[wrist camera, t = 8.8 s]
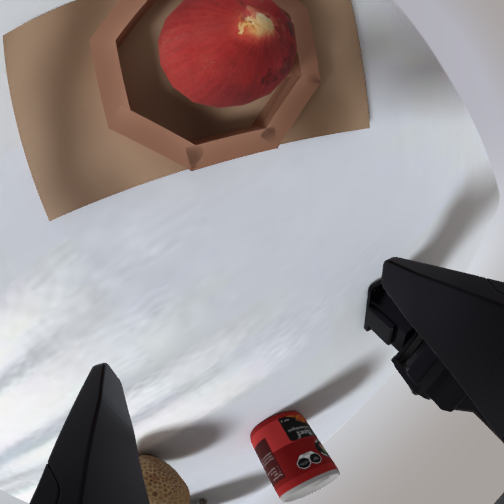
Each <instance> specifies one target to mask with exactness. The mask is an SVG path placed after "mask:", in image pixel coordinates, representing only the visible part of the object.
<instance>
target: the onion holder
mask: <svg viewBox="0 0 504 504" xmlns="http://www.w3.org/2000/svg"><path fill="white" fill-rule="evenodd" d="M182 1H183V0H76V1H73V2H71V3H68V4H66V5H63V6H61V7H58V8H56V9H54V10H52V11H49V12H47V13H45V14H43V15H41V16H39V17H37V18H35V19H33V20H31V21H29V22H27V23H25V24H23V25H21V26H19V27H17V28H16V29H14V30H12V31H10V32H9V33H7V34H5V35H3V44H4V55H5V63H6V71H7V77H8V84H9V89H10V95H11V100H12V105H13V109H14V114H15V118H16V122H17V127H18V130H19V134H20V138H21V142H22V145H23V149H24V152H25V155H26V159H27V162H28V165H29V168H30V171H31V174H32V177H33V180H34V183H35V185H36V188H37V191H38V194H39V196H40V199H41V201H42V204H43V207H44V209H45V212H46V214H47V216H48V219H49V221H51V220H53V219H56V218H58V217H60V216H62V215H65V214H67V213H69V212H72V211H74V210H76V209H79V208H81V207H83V206H86V205H88V204H91V203H93V202H96V201H98V200H101V199H103V198H106V197H108V196H111V195H114V194H116V193H119V192H121V191H124V190H127V189H130V188H132V187H135V186H138V185H141V184H144V183H146V182H149V181H152V180H155V179H158V178H161V177H164V176H167V175H170V174H173V173H177V172H180V171H183V170H186V169H189V170H191V171H193V170H197V169H200V168H203V167H207V166H210V165H214V164H217V163H221V162H224V161H228V160H232V159H235V158H239V157H243V156H247V155H251V154H255V153H259V152H263V151H267V150H271V149H275V148H278V146H279V145H280V144H284V143H289V142H293V141H298V140H303V139H308V138H313V137H318V136H324V135H329V134H335V133H340V132H346V131H353V130H359V129H366V128H370V125H369V113H368V102H367V93H366V84H365V76H364V69H363V62H362V56H361V49H360V44H359V38H358V32H357V27H356V22H355V17H354V13H353V8H352V4H351V0H272V1H273V2H274V3H275V4H277V5H278V6H279V7H280V8H281V9H282V11H283V12H284V13H285V14H286V16H287V17H288V18H289V19H290V21H291V22H292V23H293V24H294V28H295V36H296V44H297V52H296V55H295V58H294V61H293V64H292V67H291V70H290V73H289V74H288V76H287V77H286V78H285V79H284V80H283V81H282V82H281V83H280V84H279V85H278V86H277V87H276V88H275V89H274V90H273V91H272V92H271V93H270V94H269V95H266V96H264V97H262V98H259V99H257V100H255V101H253V102H250V103H248V104H245V105H242V106H232V107H224V108H216V107H212V106H208V105H203V104H199V103H194V102H192V101H191V100H190V99H188V98H187V97H186V96H184V95H183V94H182V93H180V92H179V91H178V90H176V89H175V88H174V87H172V85H171V83H170V81H169V80H168V78H167V76H166V74H165V73H164V71H163V69H162V67H161V65H160V57H159V46H158V39H159V36H160V33H161V30H162V27H163V25H164V22H165V19H166V18H167V17H168V16H169V15H170V14H171V13H172V11H173V10H174V9H175V8H176V7H177V6H178V5H179V4H180V3H181V2H182Z"/></svg>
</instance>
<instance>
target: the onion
mask: <svg viewBox="0 0 504 504" xmlns="http://www.w3.org/2000/svg"><path fill="white" fill-rule="evenodd" d="M158 46H159V57H160V65H161V67H162V69H163V71H164V73H165V74H166V76H167V78H168V80H169V81H170V83H171V85H172V87H174V88H175V89H176V90H178V91H179V92H180V93H182V94H183V95H184V96H186V97H187V98H188V99H190V100H191V101H192V102H194V103H199V104H203V105H208V106H212V107H216V108H224V107H232V106H242V105H245V104H248V103H250V102H253V101H255V100H257V99H259V98H262V97H264V96H266V95H269V94H270V93H271V92H272V91H273V90H274V89H275V88H276V87H277V86H278V85H279V84H280V83H281V82H282V81H283V80H284V79H285V78H286V77H287V76H288V74H289V73H290V70H291V67H292V64H293V61H294V58H295V55H296V52H297V44H296V36H295V28H294V24H293V23H292V22H291V21H290V19H289V18H288V17H287V16H286V14H285V13H284V12H283V11H282V9H281V8H280V7H279V6H278V5H277V4H275V3H274V2H273V1H272V0H183V1H182V2H181V3H180V4H179V5H178V6H177V7H176V8H175V9H174V10H173V11H172V13H171V14H170V15H169V16H168V17H167V18H166V19H165V22H164V25H163V27H162V30H161V33H160V36H159V39H158Z"/></svg>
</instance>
